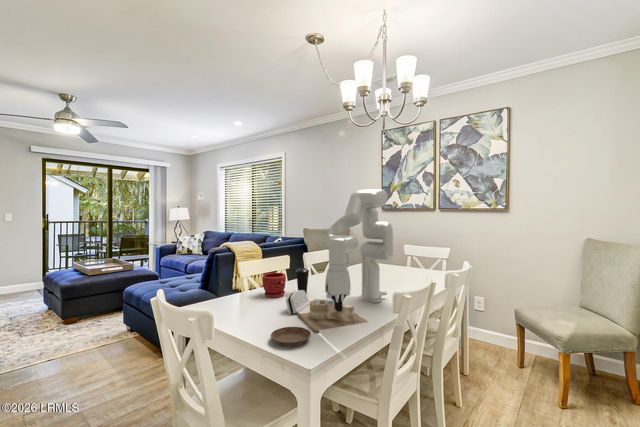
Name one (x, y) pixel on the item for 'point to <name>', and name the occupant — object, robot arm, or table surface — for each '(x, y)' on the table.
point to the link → (331, 311)
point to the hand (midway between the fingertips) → (338, 310)
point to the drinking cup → (302, 278)
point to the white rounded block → (297, 301)
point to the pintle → (317, 301)
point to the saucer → (290, 336)
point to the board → (327, 322)
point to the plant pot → (274, 284)
